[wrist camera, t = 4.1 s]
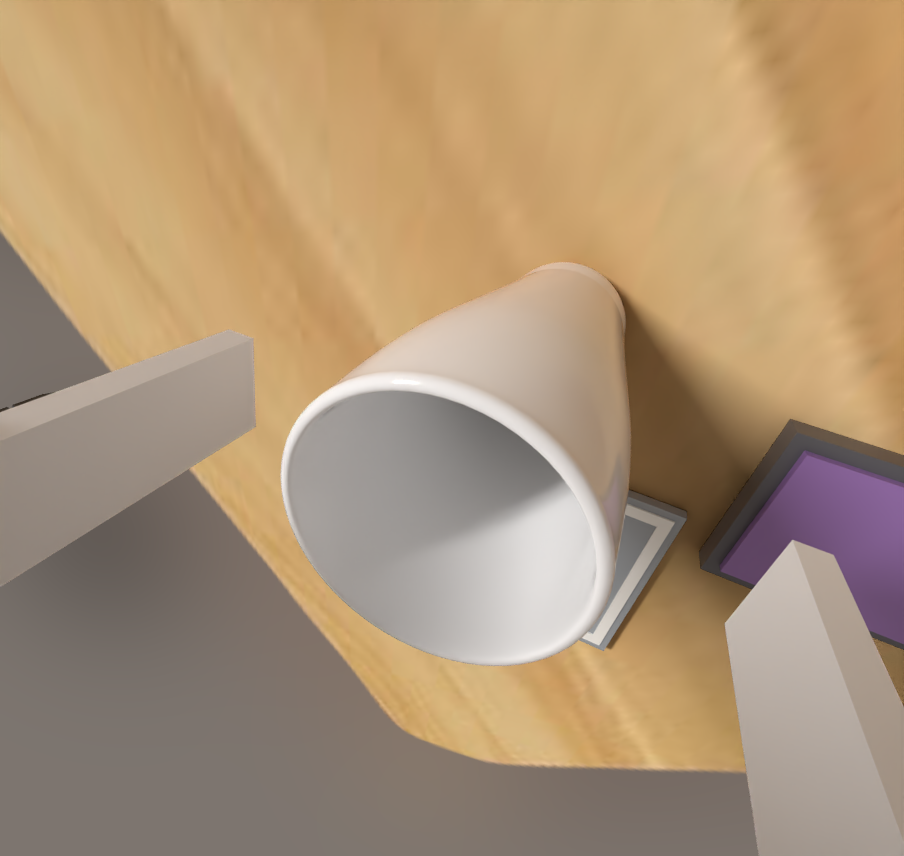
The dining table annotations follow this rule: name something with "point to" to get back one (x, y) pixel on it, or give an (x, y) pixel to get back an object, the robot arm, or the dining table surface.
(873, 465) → the ink pad
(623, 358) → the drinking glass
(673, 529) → the plate
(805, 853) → the robot arm
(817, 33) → the dining table surface
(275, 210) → the dining table surface
